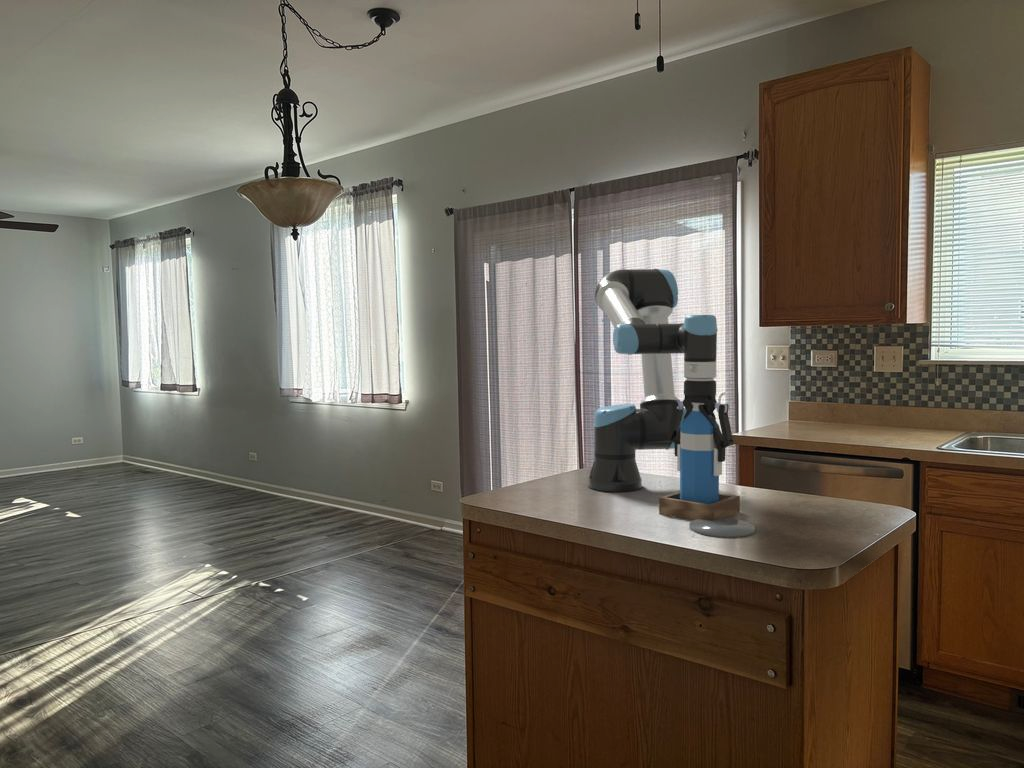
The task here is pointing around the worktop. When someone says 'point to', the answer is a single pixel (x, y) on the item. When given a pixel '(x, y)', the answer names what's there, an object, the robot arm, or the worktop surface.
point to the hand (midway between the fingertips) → (699, 472)
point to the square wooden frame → (699, 507)
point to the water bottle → (697, 459)
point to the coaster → (722, 527)
